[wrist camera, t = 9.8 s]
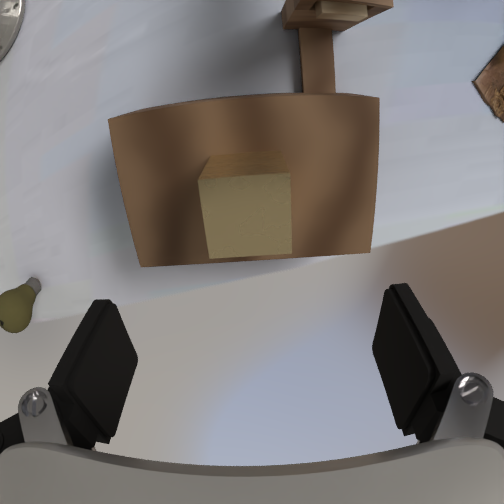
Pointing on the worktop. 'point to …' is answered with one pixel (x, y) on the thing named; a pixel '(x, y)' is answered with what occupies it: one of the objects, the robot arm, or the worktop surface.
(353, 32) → the worktop surface
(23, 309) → the light bulb
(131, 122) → the lid
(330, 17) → the wooden key
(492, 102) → the wooden fragment
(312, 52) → the wooden box
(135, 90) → the worktop surface
